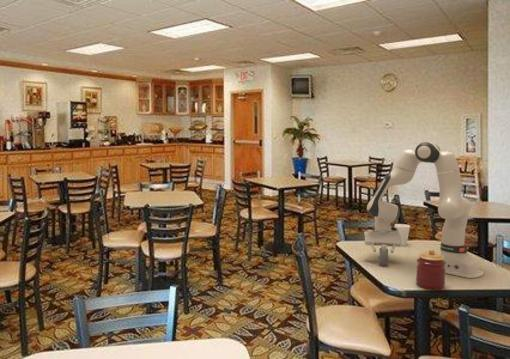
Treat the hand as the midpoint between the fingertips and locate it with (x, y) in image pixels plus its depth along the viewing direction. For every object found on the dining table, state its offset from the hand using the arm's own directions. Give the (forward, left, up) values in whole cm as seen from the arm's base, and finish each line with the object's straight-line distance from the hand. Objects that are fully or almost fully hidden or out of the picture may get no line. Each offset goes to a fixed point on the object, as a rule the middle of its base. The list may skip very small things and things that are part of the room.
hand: (383, 251), depth 243 cm
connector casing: (-1, +1, -7) cm, 7 cm away
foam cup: (+21, -45, -7) cm, 50 cm away
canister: (-35, +9, -7) cm, 37 cm away
